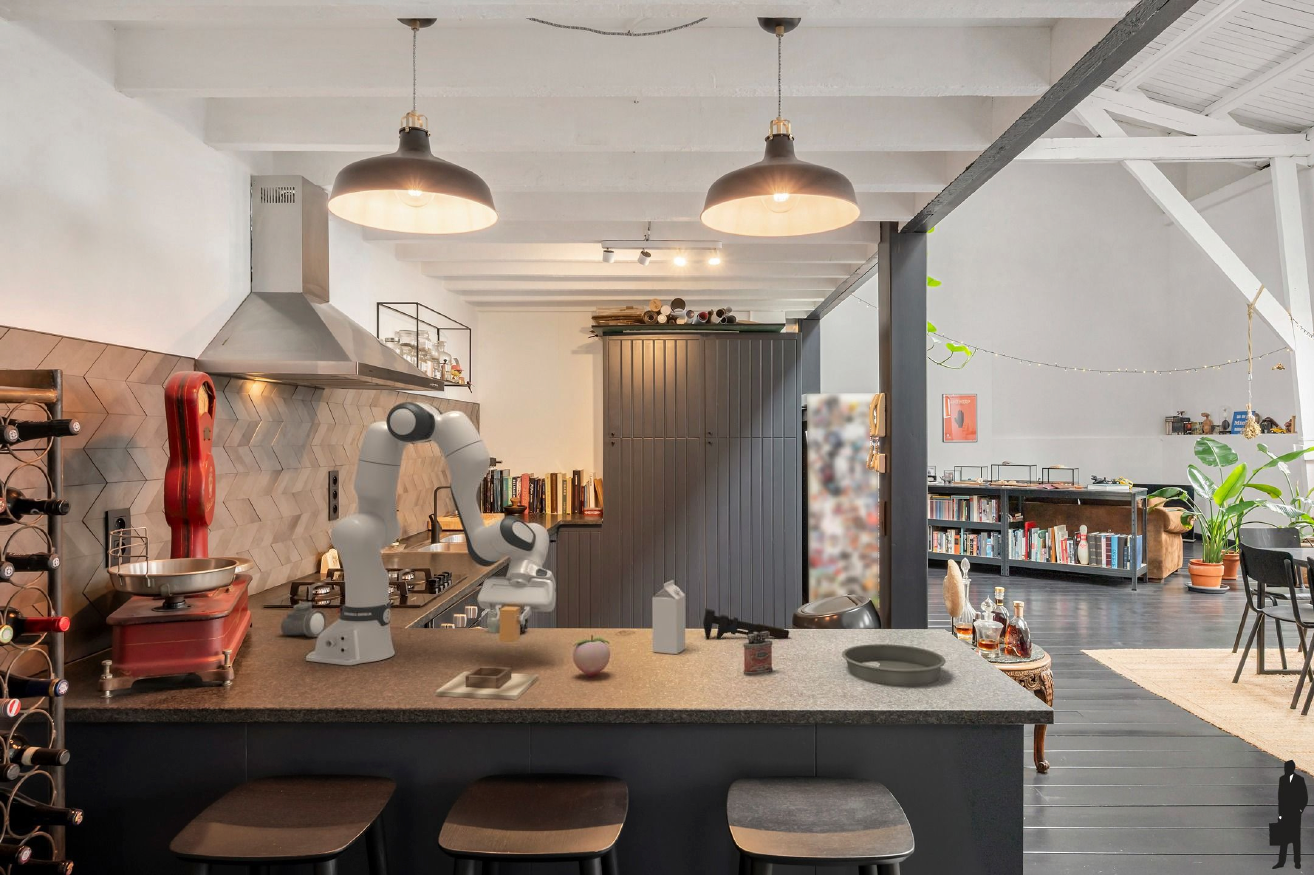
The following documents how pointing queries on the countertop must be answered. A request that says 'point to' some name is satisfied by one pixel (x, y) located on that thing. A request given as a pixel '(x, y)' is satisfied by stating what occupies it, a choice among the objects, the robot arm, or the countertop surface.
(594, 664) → the decorative fruit
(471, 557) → the robot arm
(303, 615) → the pipe fitting
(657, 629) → the milk carton
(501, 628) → the orange cap block
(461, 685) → the socket board
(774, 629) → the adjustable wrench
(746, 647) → the lighter
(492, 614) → the valve
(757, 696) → the countertop surface
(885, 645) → the cake pan
